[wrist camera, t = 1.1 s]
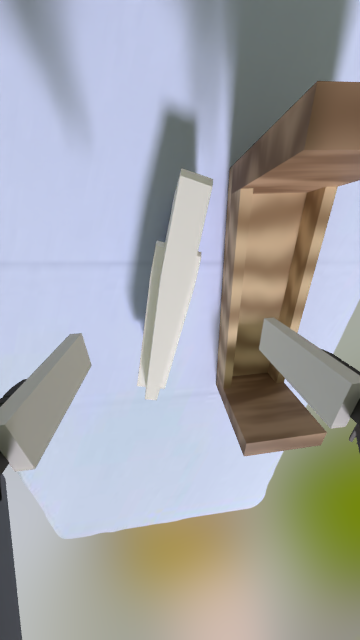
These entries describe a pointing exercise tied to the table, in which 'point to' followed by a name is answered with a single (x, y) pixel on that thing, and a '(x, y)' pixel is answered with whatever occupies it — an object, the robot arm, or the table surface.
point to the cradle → (280, 256)
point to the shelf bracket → (173, 280)
